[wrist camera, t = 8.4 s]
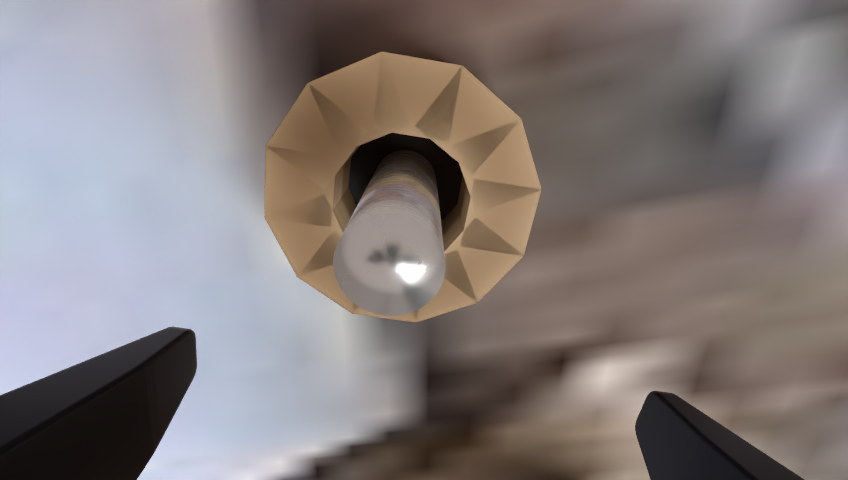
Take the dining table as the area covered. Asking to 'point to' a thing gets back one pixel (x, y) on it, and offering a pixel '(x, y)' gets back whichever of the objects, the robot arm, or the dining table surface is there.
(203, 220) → the dining table surface
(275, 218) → the wooden bead
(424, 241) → the steel rod
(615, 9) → the dining table surface
